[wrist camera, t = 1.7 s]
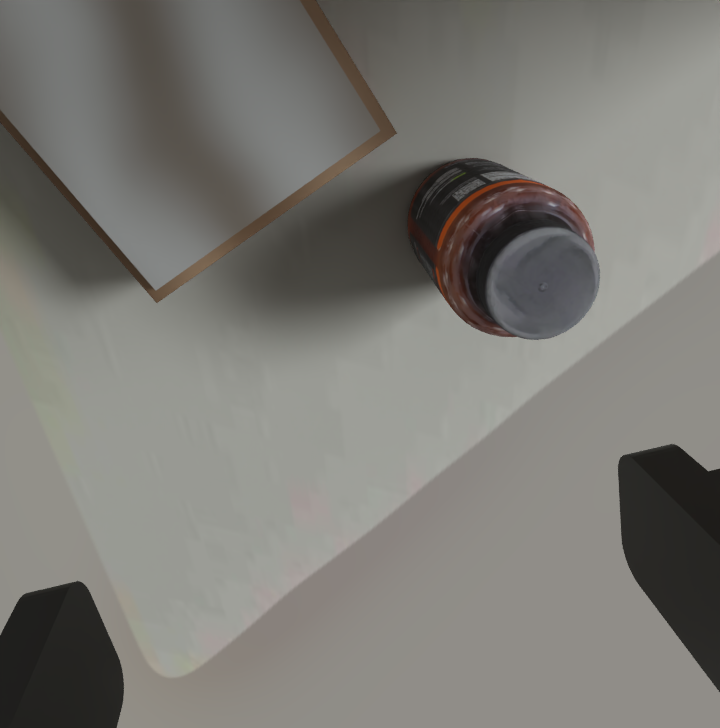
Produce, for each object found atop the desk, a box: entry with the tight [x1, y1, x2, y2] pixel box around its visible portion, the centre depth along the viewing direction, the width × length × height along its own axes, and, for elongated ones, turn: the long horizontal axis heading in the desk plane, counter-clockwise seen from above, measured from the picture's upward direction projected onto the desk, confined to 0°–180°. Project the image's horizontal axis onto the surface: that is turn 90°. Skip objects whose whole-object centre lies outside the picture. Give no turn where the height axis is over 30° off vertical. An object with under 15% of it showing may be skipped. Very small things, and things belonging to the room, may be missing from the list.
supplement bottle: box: [408, 158, 600, 340], centre depth 28 cm, size 6×6×11 cm
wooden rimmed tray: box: [0, 0, 397, 303], centre depth 27 cm, size 12×12×6 cm
